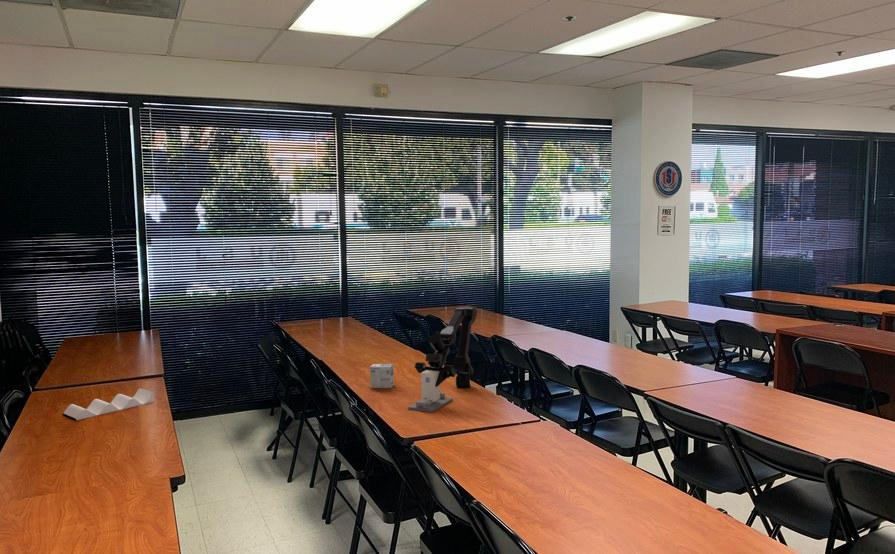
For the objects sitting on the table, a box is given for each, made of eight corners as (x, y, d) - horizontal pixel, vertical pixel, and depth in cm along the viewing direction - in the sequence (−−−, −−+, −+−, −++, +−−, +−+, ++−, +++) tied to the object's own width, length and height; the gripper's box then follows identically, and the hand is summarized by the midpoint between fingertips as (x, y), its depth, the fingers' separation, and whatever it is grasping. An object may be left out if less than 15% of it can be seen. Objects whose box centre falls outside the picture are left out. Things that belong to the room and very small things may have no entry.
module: (427, 397, 303) (426, 369, 301) (439, 398, 300) (439, 371, 299) (421, 400, 298) (420, 372, 296) (434, 402, 295) (433, 374, 294)
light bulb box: (394, 384, 334) (393, 363, 333) (391, 388, 327) (391, 366, 326) (373, 384, 335) (372, 363, 334) (370, 388, 328) (369, 366, 327)
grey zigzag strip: (61, 416, 291) (60, 405, 291) (140, 398, 318) (139, 387, 318) (73, 422, 283) (72, 410, 282) (154, 403, 310) (153, 392, 309)
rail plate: (429, 397, 311) (429, 390, 310) (452, 400, 305) (452, 393, 305) (407, 409, 293) (407, 401, 293) (432, 412, 288) (432, 404, 287)
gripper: (415, 344, 304) (404, 374, 296) (452, 348, 296) (441, 378, 287) (424, 358, 312) (413, 386, 304) (460, 361, 304) (450, 391, 295)
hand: (429, 385), depth 297 cm, fingers closed on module, 6 cm apart
